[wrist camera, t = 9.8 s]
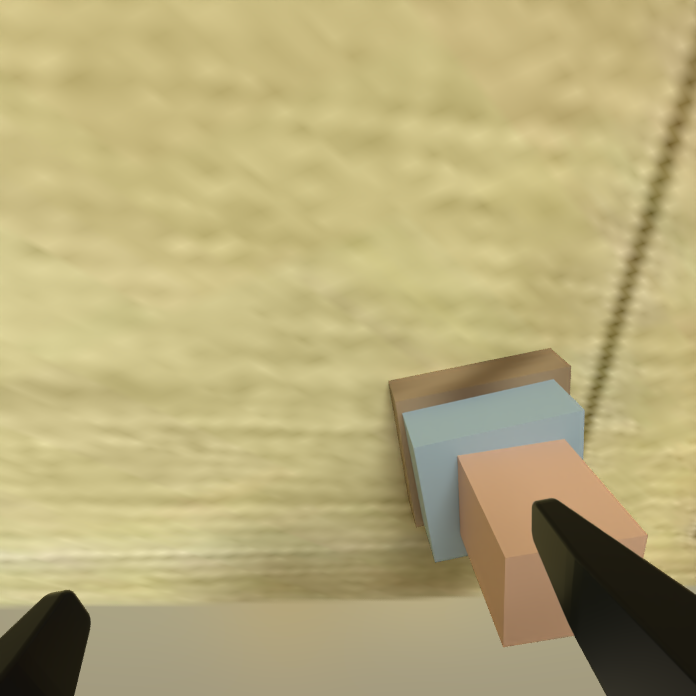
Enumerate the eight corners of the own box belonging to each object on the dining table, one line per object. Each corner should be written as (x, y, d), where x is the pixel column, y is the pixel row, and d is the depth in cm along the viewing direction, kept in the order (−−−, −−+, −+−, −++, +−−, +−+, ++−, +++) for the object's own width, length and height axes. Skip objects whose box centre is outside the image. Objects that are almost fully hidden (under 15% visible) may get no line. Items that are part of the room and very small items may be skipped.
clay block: (564, 438, 18) (648, 535, 14) (557, 518, 20) (628, 627, 16) (457, 455, 18) (505, 557, 14) (460, 534, 20) (503, 647, 16)
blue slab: (553, 379, 20) (584, 409, 18) (554, 492, 23) (581, 531, 21) (402, 413, 20) (413, 447, 18) (423, 521, 23) (434, 562, 21)
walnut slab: (544, 342, 22) (571, 366, 20) (543, 465, 25) (565, 497, 23) (386, 375, 22) (395, 401, 20) (407, 492, 26) (416, 527, 23)
